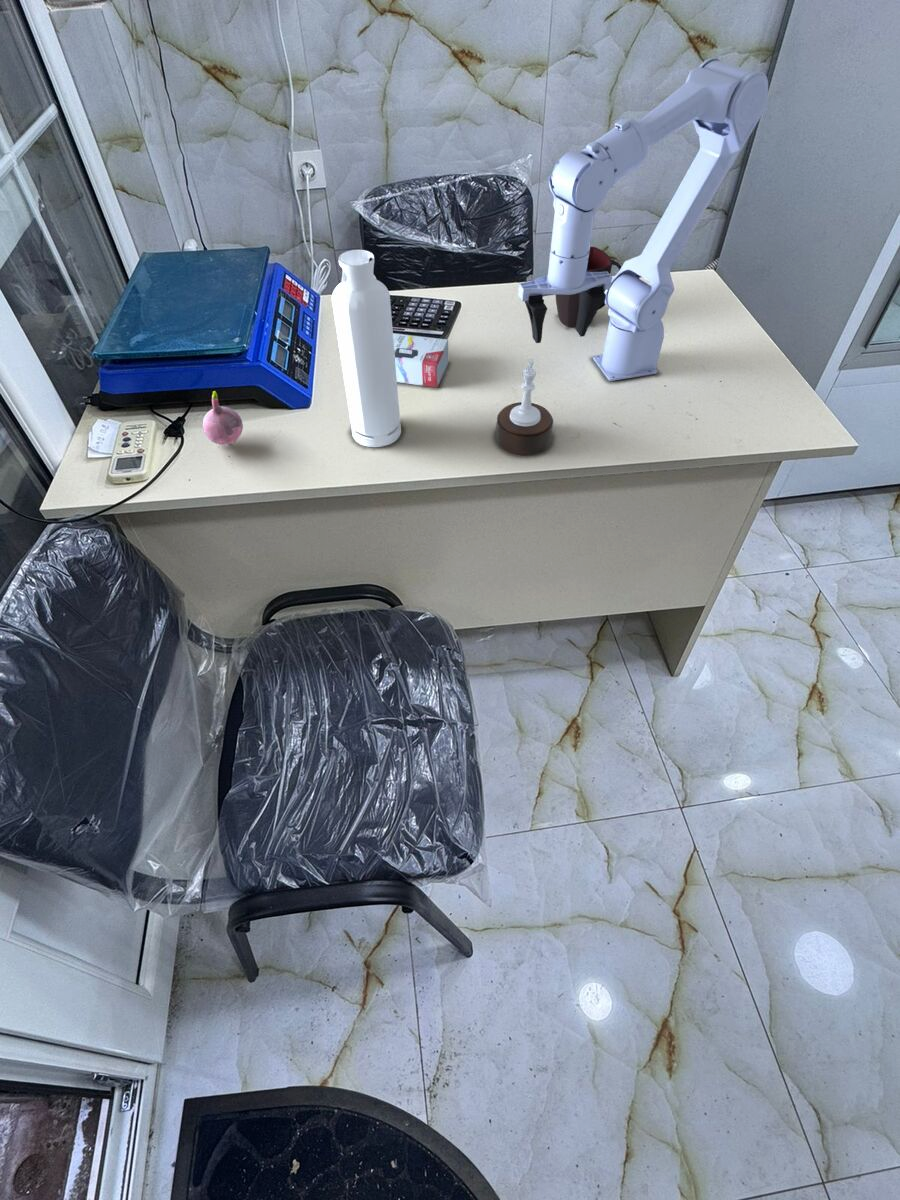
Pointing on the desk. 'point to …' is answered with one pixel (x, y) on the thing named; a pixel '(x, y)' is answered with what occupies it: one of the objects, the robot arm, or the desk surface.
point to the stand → (523, 432)
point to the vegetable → (222, 424)
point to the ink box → (420, 359)
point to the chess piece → (526, 402)
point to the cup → (570, 303)
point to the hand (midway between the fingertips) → (558, 336)
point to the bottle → (367, 350)
